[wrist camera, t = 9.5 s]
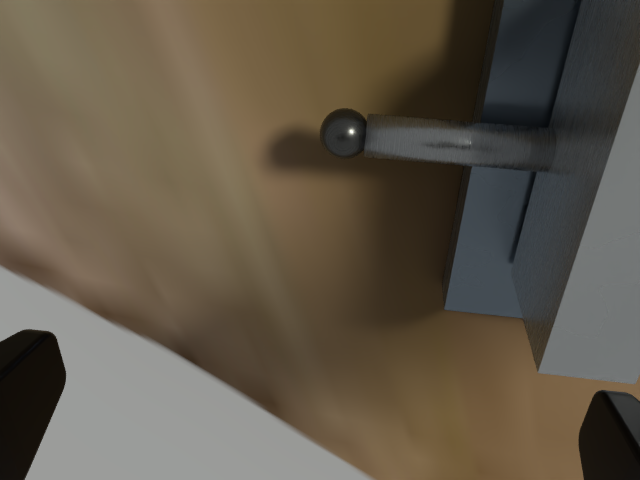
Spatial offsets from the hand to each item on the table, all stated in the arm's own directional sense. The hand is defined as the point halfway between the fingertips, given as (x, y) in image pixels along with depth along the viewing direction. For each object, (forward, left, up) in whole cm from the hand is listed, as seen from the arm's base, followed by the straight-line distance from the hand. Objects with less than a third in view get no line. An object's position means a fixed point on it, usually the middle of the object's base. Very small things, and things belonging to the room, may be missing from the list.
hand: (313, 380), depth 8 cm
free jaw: (-3, 0, -10) cm, 11 cm away
